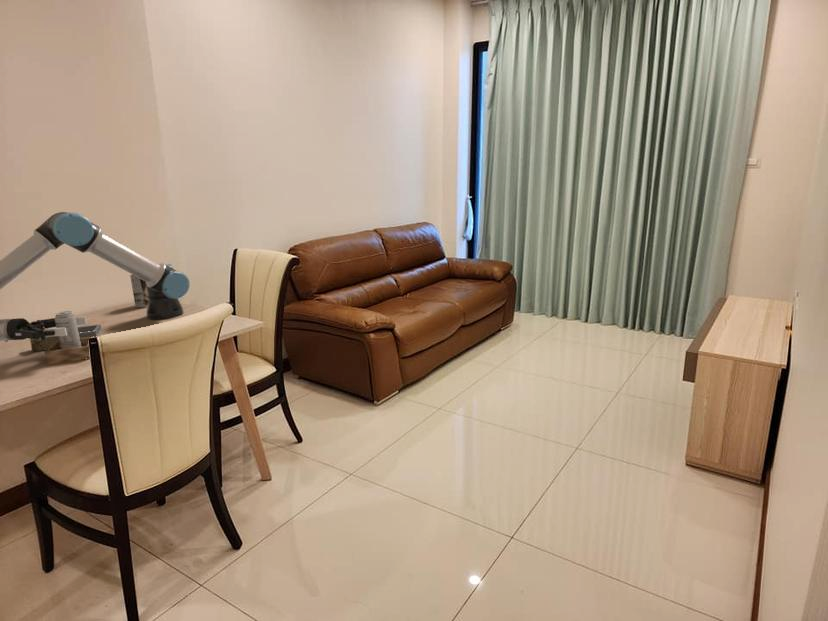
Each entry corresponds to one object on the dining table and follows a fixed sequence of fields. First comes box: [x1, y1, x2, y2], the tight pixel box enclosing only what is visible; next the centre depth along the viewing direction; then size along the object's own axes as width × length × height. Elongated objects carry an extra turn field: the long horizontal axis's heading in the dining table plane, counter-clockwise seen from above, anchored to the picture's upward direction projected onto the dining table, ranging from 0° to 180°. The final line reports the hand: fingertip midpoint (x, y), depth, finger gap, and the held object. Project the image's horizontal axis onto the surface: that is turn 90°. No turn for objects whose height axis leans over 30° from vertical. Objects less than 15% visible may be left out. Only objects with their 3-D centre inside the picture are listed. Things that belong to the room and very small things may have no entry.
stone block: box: [29, 336, 59, 352], centre depth 197 cm, size 6×12×5 cm, turn 145°
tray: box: [77, 323, 102, 338], centre depth 211 cm, size 11×11×2 cm
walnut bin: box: [44, 336, 97, 365], centre depth 187 cm, size 13×13×4 cm
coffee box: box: [129, 274, 149, 309], centre depth 255 cm, size 9×6×16 cm
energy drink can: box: [54, 310, 81, 349], centre depth 185 cm, size 6×6×15 cm
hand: (76, 325), depth 184 cm, fingers open, 13 cm apart
